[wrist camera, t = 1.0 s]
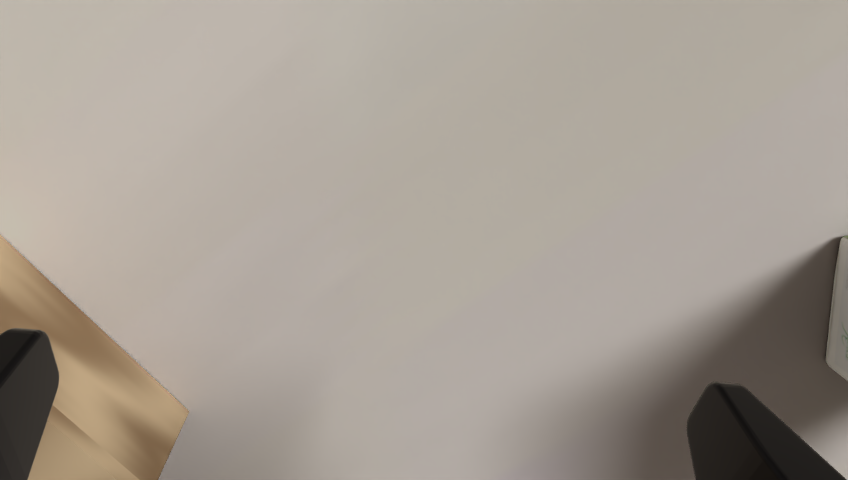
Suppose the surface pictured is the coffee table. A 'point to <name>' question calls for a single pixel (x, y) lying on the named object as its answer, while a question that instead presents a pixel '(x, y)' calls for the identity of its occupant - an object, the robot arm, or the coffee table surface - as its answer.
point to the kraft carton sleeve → (89, 388)
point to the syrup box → (839, 315)
